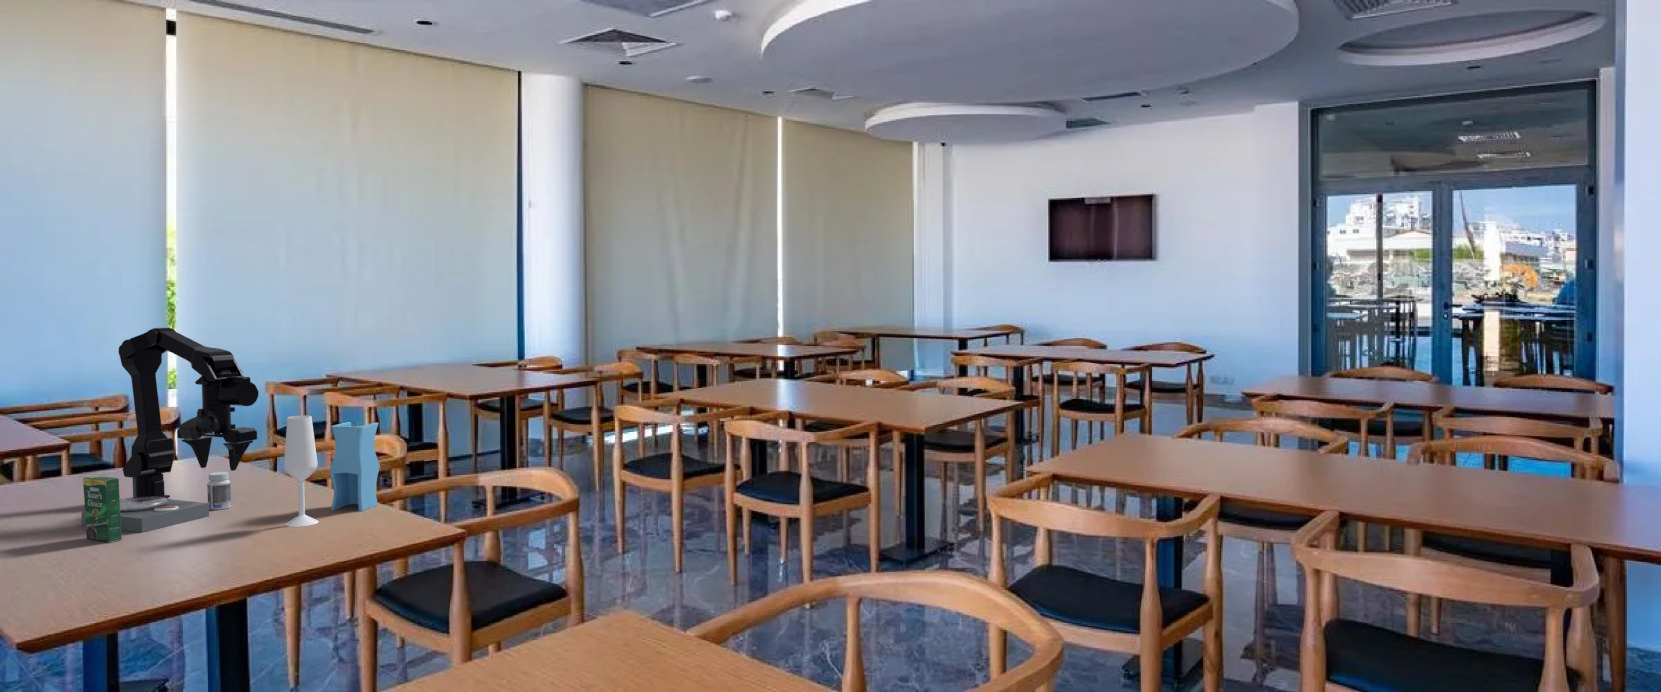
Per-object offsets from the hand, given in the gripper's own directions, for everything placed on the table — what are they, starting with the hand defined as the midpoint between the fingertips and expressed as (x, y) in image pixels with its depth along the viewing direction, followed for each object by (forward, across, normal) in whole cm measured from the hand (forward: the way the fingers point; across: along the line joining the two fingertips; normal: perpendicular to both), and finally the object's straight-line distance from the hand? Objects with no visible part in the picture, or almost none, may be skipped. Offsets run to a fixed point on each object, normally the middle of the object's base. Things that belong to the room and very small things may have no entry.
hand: (218, 469), depth 237 cm
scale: (+9, -4, -15) cm, 18 cm away
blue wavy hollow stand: (+9, +29, +12) cm, 33 cm away
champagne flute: (+9, +30, -5) cm, 32 cm away
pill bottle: (+10, 0, 0) cm, 10 cm away
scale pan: (+6, -6, -15) cm, 17 cm away
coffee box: (+10, +3, -30) cm, 32 cm away
